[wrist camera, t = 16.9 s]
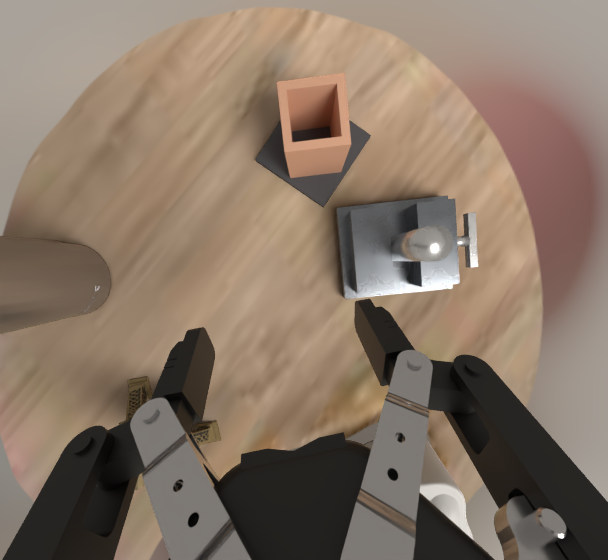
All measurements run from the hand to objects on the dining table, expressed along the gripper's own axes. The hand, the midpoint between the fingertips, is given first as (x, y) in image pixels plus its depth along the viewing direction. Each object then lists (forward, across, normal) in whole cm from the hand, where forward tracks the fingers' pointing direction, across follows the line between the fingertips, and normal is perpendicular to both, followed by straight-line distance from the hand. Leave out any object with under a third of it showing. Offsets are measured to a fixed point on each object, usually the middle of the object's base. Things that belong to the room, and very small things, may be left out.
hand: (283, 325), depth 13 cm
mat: (+23, -6, -6) cm, 25 cm away
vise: (+16, -14, +6) cm, 22 cm away
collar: (+23, -6, -6) cm, 24 cm away
